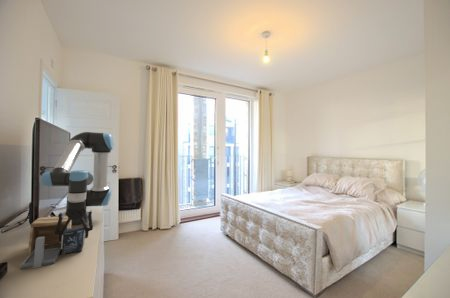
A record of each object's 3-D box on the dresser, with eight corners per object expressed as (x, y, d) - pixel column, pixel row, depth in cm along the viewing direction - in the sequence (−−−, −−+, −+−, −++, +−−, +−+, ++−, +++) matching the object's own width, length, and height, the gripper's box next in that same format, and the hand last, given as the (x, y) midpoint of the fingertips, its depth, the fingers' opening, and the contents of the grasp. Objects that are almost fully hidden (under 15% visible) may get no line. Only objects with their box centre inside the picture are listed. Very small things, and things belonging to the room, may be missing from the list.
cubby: (36, 245, 103) (39, 217, 103) (70, 241, 110) (72, 214, 110) (28, 255, 93) (30, 224, 94) (65, 249, 100) (68, 220, 101)
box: (61, 254, 95) (63, 232, 95) (65, 249, 100) (66, 228, 100) (81, 251, 98) (82, 230, 99) (83, 246, 103) (85, 226, 104)
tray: (32, 255, 93) (34, 229, 94) (61, 250, 99) (63, 226, 99) (19, 270, 81) (22, 240, 82) (53, 264, 87) (56, 236, 87)
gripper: (48, 204, 92) (43, 253, 91) (100, 201, 102) (97, 245, 101) (52, 200, 98) (48, 246, 98) (101, 198, 108) (98, 239, 108)
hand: (73, 245), depth 99 cm, fingers closed on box, 8 cm apart
